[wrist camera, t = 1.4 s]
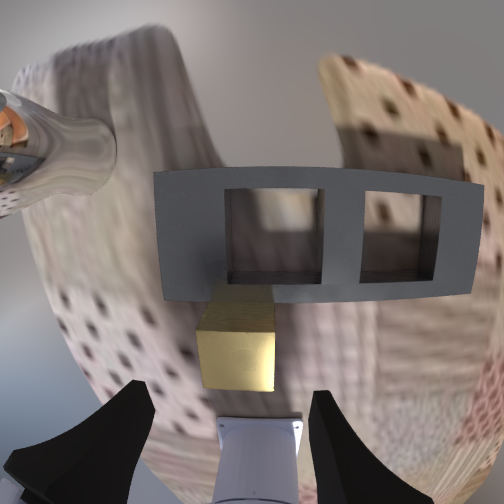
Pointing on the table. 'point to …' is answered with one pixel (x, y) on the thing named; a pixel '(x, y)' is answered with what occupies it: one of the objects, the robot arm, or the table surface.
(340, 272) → the rail
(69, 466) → the robot arm
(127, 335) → the table surface
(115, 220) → the table surface
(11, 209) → the beer glass
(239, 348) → the block
